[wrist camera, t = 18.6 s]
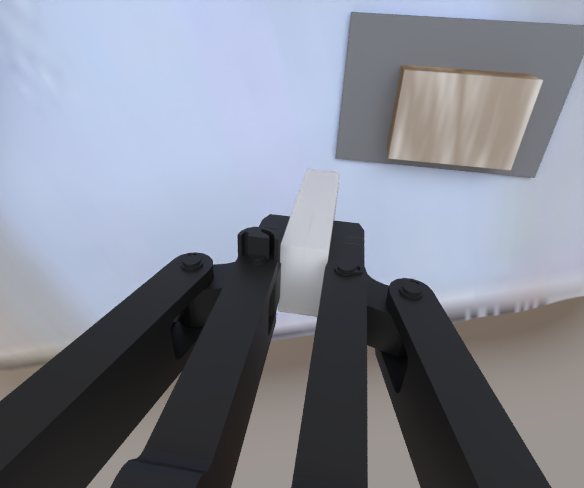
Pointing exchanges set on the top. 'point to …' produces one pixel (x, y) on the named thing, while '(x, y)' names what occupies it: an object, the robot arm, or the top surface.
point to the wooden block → (461, 116)
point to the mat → (459, 55)
